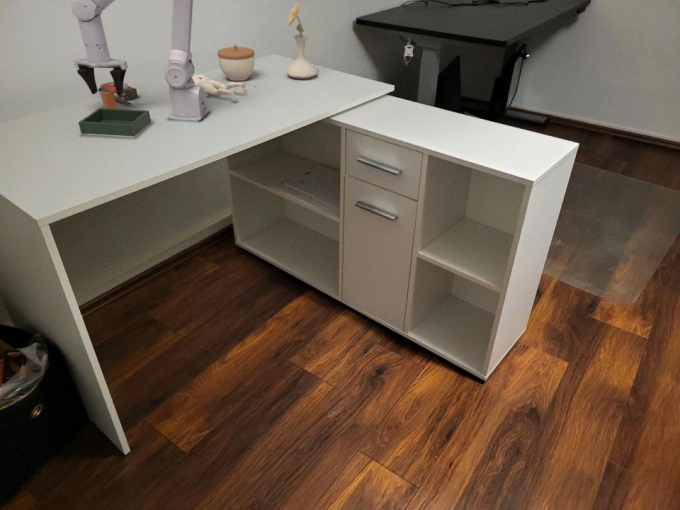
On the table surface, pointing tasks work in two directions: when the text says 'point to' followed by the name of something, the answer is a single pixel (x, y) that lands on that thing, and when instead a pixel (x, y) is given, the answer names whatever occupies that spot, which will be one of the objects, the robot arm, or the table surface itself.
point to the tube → (108, 99)
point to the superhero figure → (217, 86)
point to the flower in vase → (300, 51)
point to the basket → (115, 122)
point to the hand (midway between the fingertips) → (107, 93)
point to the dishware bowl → (236, 62)
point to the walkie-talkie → (127, 92)
